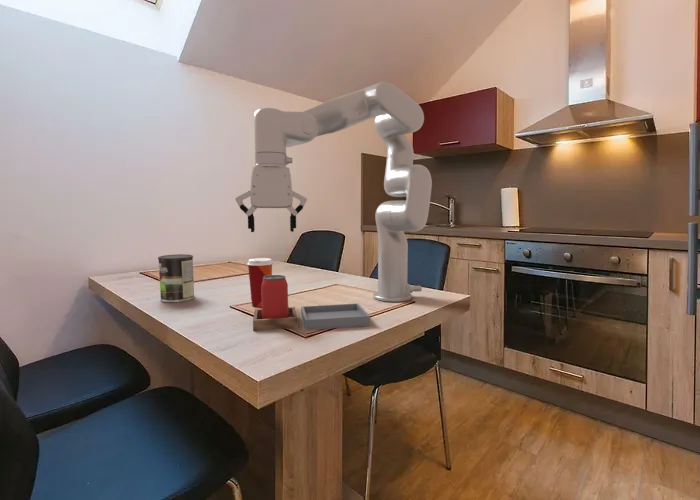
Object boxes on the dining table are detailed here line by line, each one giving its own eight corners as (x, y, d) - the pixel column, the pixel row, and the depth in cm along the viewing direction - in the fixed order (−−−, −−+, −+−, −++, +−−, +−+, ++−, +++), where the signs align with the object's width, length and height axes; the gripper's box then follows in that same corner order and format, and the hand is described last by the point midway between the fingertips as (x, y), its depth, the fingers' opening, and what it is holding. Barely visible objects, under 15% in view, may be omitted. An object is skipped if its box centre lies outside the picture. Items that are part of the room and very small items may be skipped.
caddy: (295, 315, 102) (294, 307, 102) (297, 327, 92) (297, 317, 92) (255, 318, 100) (254, 309, 100) (253, 330, 90) (252, 320, 90)
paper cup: (271, 308, 111) (269, 261, 109) (245, 307, 111) (243, 261, 110) (276, 301, 119) (275, 257, 117) (252, 301, 119) (251, 257, 117)
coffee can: (166, 304, 116) (163, 259, 114) (156, 298, 123) (153, 256, 122) (199, 298, 123) (197, 256, 121) (188, 293, 130) (186, 253, 129)
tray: (358, 312, 106) (358, 303, 106) (369, 325, 94) (369, 316, 93) (301, 315, 103) (301, 306, 103) (305, 330, 90) (305, 320, 90)
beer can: (257, 325, 94) (255, 278, 93) (271, 318, 100) (270, 273, 99) (279, 328, 92) (278, 279, 91) (293, 320, 98) (292, 275, 97)
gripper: (305, 164, 97) (305, 230, 99) (235, 163, 94) (238, 231, 96) (307, 161, 90) (308, 232, 92) (232, 159, 87) (235, 233, 89)
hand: (272, 231), depth 94 cm, fingers open, 9 cm apart
